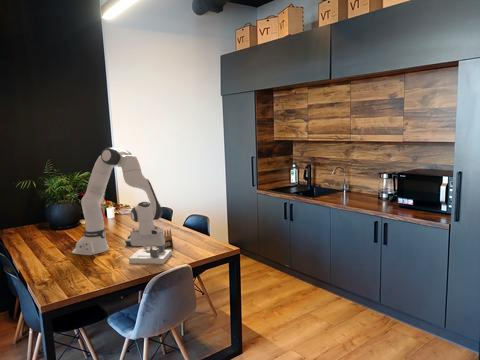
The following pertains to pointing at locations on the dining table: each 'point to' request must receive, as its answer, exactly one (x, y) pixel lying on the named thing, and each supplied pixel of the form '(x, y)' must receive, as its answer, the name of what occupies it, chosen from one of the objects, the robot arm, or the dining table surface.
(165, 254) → the switch panel
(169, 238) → the ammunition clip
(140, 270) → the dining table surface
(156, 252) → the tab near
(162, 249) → the tab far
